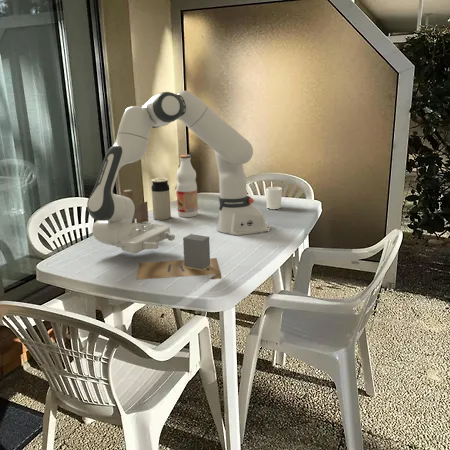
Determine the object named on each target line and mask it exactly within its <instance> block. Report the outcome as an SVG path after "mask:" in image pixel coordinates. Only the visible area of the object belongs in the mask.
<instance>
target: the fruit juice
mask: <svg viewBox="0 0 450 450" xmlns="http://www.w3.org/2000/svg"><path fill="white" fill-rule="evenodd" d="M179 159H180V164H179V167H178V169H177V170H176V175H175V176H176V177H175V178H176V180H177V183H176V203H177V215H178V216H179V217H181V218H193V217H196V216H198V213H199V206H198V185H197V181H196V180H197V179H196V178H197V172H196V169H194V167H193V165H192V163H191V159H192V157H191V154H180V156H179Z"/></svg>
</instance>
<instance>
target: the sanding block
mask: <svg viewBox="0 0 450 450" xmlns="http://www.w3.org/2000/svg"><path fill="white" fill-rule="evenodd" d="M182 239H183V241H182V242H183V245H182V246H183V260H184V266H185V267H186V268H191V269H196V270H202V271H204V270H205V269H206V268H208V267H209V266H210V258H211V251H210V250H211V249H210V248H211V246H210V236H207V235H206V236H205V235H198V234H193V233H190V234H188V235H186V236H184V237H183V238H182Z"/></svg>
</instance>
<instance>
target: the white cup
mask: <svg viewBox="0 0 450 450" xmlns="http://www.w3.org/2000/svg"><path fill="white" fill-rule="evenodd" d="M282 197H283V188H282V187H279V186H268V187H266V188H265V203H266V209H267V208H270V209H276V208H280V207H281V208H282Z"/></svg>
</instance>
